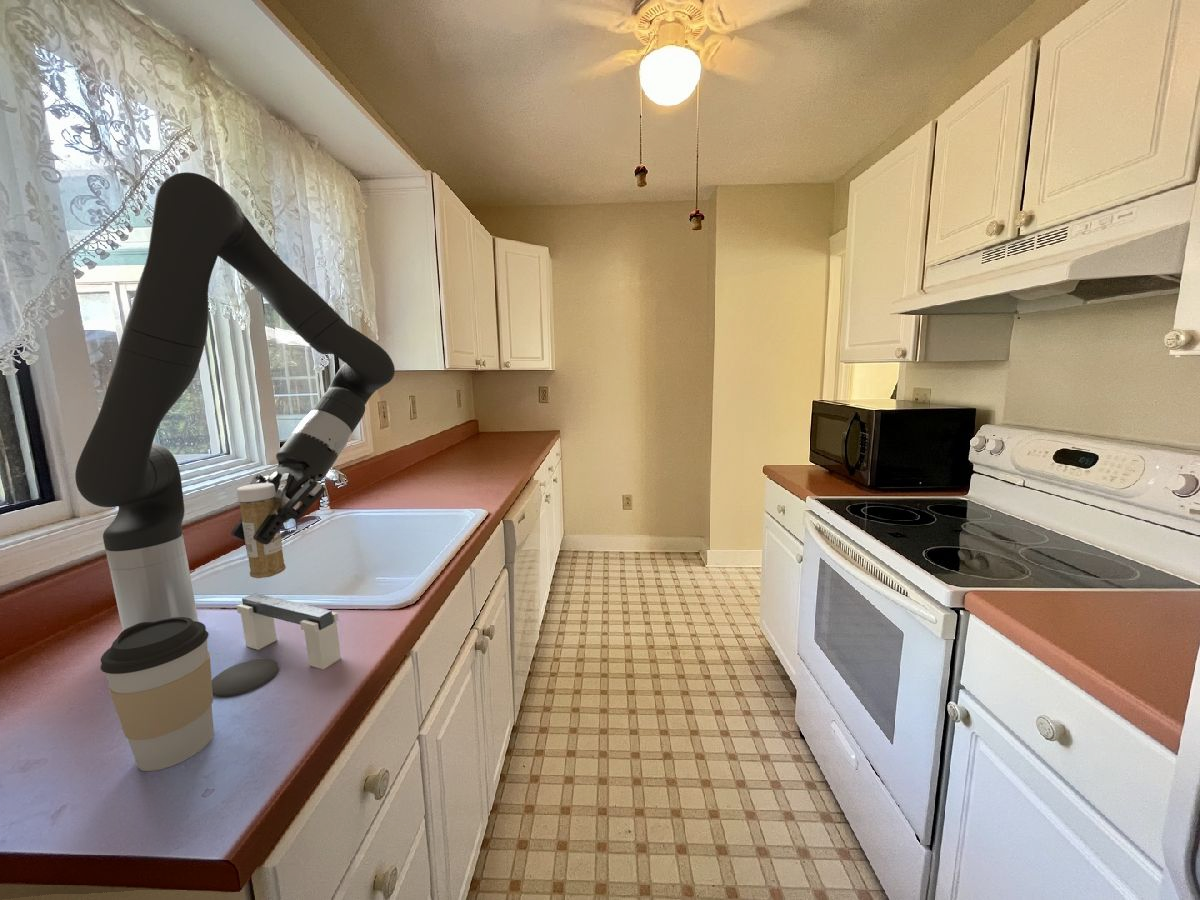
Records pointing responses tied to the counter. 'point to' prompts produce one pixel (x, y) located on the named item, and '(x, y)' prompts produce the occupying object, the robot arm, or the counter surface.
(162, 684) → the coffee cup
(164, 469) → the robot arm
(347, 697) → the counter surface
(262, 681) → the rubber mat
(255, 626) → the hurdle posts
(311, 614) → the crossbar
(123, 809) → the counter surface
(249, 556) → the sprinkles bottle
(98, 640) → the counter surface
